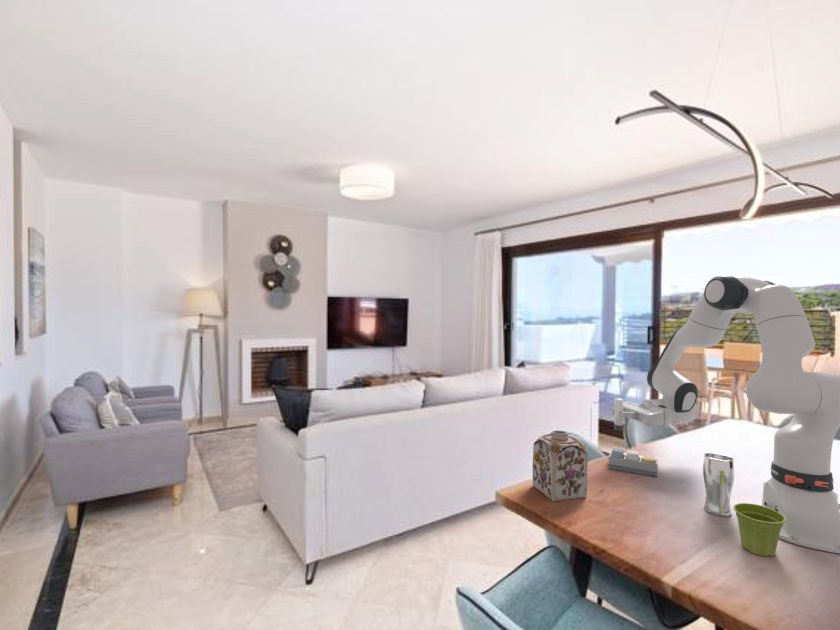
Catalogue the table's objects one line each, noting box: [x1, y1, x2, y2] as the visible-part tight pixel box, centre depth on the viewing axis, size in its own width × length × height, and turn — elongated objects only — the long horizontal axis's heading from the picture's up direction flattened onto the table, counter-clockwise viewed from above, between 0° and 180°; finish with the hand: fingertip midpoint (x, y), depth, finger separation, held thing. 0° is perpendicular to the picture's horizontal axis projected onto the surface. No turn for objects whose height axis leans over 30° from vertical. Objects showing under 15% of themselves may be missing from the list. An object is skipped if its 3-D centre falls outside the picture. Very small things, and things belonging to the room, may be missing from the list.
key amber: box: [642, 455, 656, 464], centre depth 148 cm, size 4×4×3 cm
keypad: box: [607, 451, 659, 478], centre depth 150 cm, size 13×15×3 cm
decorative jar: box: [532, 429, 589, 502], centre depth 129 cm, size 12×12×18 cm
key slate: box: [611, 447, 625, 459], centre depth 152 cm, size 4×4×3 cm
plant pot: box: [733, 502, 786, 557], centre depth 99 cm, size 9×9×9 cm
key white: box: [626, 449, 640, 461], centre depth 150 cm, size 4×4×3 cm
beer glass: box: [702, 452, 735, 517], centre depth 117 cm, size 7×7×15 cm
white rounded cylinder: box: [613, 397, 624, 432], centre depth 152 cm, size 3×3×11 cm
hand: (616, 413), depth 152 cm, fingers closed on white rounded cylinder, 3 cm apart
